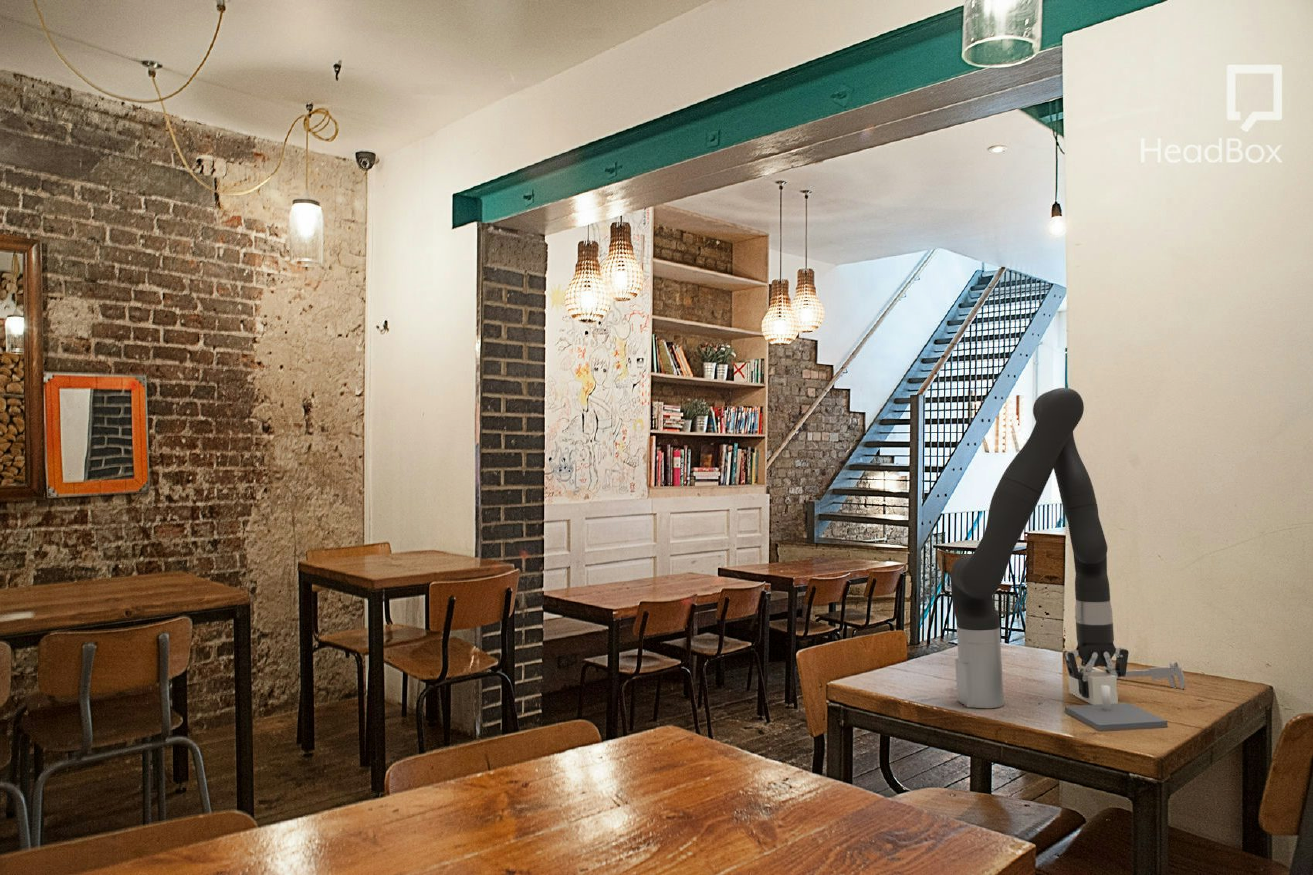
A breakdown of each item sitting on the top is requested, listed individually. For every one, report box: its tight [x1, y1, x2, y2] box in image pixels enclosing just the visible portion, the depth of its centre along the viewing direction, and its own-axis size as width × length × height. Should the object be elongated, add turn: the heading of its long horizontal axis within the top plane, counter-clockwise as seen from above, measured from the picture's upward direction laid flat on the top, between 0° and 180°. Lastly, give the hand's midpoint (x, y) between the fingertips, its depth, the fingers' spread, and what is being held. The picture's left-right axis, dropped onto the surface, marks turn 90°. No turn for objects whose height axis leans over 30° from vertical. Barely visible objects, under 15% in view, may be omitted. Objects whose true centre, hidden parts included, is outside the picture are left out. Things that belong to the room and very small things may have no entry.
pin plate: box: [1064, 685, 1168, 732], centre depth 188 cm, size 14×14×6 cm
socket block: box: [1067, 665, 1119, 705], centre depth 205 cm, size 5×11×6 cm, turn 2°
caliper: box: [1118, 661, 1186, 690], centre depth 216 cm, size 20×1×6 cm, turn 39°
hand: (1098, 696), depth 202 cm, fingers closed on socket block, 5 cm apart
